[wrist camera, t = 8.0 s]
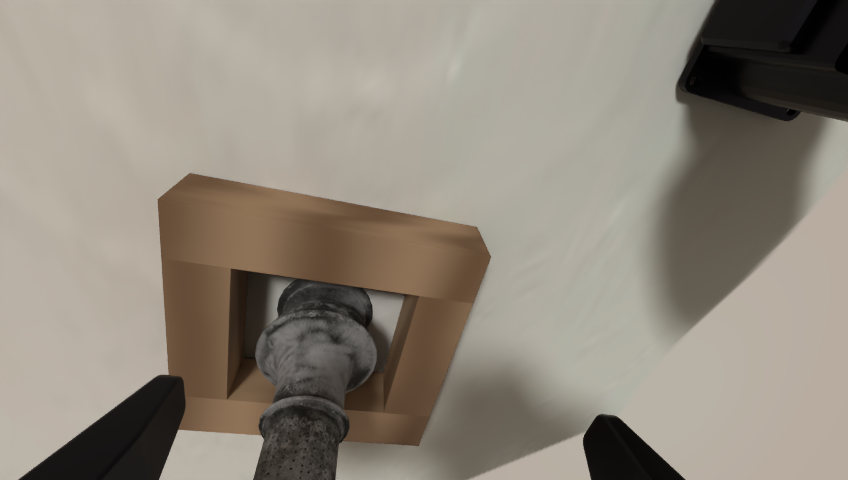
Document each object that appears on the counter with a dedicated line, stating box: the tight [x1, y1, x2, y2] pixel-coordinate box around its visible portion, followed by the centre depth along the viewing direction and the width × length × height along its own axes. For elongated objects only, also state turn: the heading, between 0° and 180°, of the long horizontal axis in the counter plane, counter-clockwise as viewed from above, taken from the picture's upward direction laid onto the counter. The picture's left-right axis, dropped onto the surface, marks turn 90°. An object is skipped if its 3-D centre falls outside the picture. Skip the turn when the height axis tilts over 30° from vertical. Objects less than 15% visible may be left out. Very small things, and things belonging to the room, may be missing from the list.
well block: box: [158, 173, 491, 446], centre depth 21 cm, size 14×14×3 cm
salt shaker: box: [253, 278, 377, 480], centre depth 18 cm, size 6×6×12 cm
